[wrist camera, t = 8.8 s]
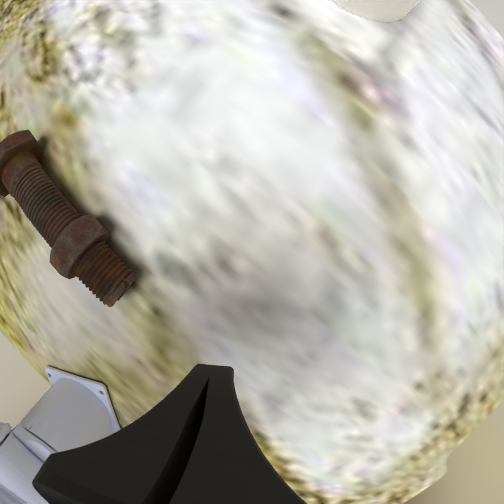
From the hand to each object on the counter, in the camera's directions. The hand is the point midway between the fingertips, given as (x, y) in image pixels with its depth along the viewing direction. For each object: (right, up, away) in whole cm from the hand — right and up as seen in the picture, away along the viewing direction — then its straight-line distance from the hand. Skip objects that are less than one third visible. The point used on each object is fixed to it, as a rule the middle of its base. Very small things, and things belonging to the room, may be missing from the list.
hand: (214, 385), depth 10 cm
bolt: (-13, +8, +9) cm, 17 cm away
